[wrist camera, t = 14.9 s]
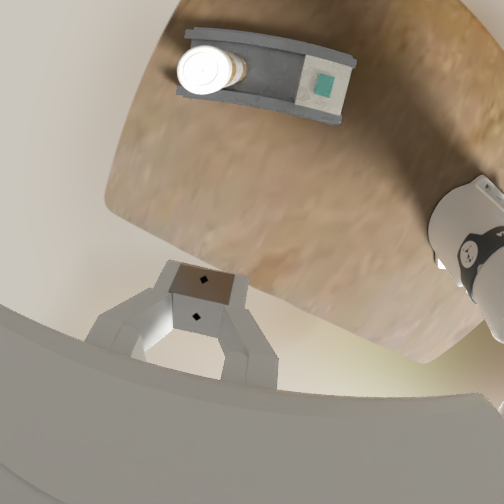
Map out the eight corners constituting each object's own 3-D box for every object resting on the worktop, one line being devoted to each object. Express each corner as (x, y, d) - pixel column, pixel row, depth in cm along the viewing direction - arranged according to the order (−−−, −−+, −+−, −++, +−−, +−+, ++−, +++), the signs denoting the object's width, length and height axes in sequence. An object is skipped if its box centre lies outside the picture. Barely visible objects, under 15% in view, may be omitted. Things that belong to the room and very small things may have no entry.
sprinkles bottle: (204, 66, 31) (165, 67, 20) (234, 46, 29) (207, 34, 18) (225, 92, 33) (196, 105, 22) (255, 73, 31) (239, 74, 20)
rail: (351, 55, 29) (367, 53, 23) (333, 124, 35) (344, 137, 29) (196, 27, 29) (175, 19, 22) (185, 96, 34) (163, 103, 28)
